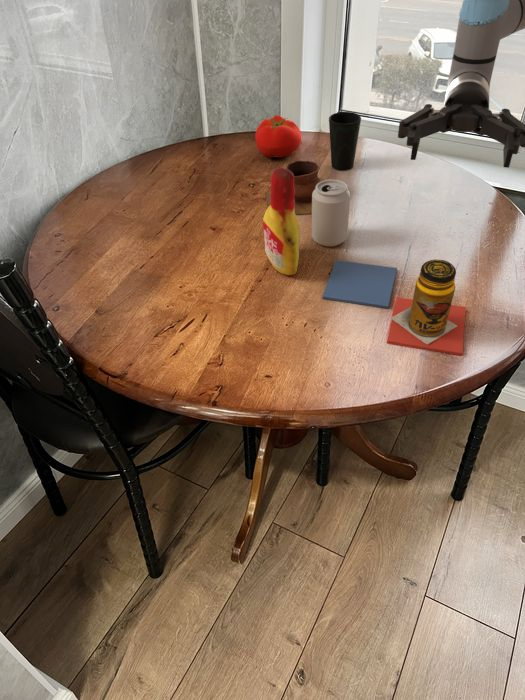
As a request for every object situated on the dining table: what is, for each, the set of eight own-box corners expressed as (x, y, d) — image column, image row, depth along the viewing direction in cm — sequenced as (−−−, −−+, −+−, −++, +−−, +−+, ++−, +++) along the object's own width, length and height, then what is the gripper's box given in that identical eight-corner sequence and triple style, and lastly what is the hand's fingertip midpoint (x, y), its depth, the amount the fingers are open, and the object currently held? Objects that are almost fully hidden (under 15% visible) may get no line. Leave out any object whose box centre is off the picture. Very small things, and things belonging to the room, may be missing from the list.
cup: (326, 159, 141) (328, 112, 132) (356, 158, 140) (359, 111, 132) (328, 173, 135) (329, 124, 127) (358, 172, 135) (362, 123, 126)
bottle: (306, 278, 104) (307, 181, 90) (274, 284, 103) (270, 187, 89) (291, 245, 113) (289, 152, 99) (261, 250, 112) (255, 157, 98)
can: (316, 227, 117) (317, 175, 109) (350, 231, 115) (354, 179, 107) (307, 245, 112) (307, 192, 104) (342, 251, 110) (346, 197, 102)
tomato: (297, 165, 139) (297, 132, 133) (250, 162, 142) (248, 130, 136) (305, 144, 148) (306, 112, 142) (261, 142, 150) (260, 110, 144)
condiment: (427, 345, 88) (440, 286, 80) (390, 318, 93) (398, 261, 85) (457, 327, 91) (473, 268, 83) (419, 302, 96) (431, 244, 88)
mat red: (465, 309, 95) (465, 306, 95) (461, 355, 87) (462, 353, 87) (396, 299, 98) (396, 296, 98) (386, 343, 90) (387, 340, 90)
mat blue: (396, 270, 104) (397, 267, 104) (388, 308, 96) (388, 306, 96) (335, 262, 107) (335, 259, 107) (322, 298, 99) (322, 296, 99)
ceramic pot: (265, 216, 121) (264, 187, 117) (264, 179, 134) (263, 152, 129) (346, 212, 121) (347, 183, 116) (336, 175, 134) (338, 148, 129)
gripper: (535, 129, 95) (542, 186, 81) (392, 120, 101) (374, 171, 87) (549, 84, 90) (558, 136, 75) (397, 77, 96) (379, 124, 82)
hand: (460, 155), depth 81 cm, fingers open, 13 cm apart
